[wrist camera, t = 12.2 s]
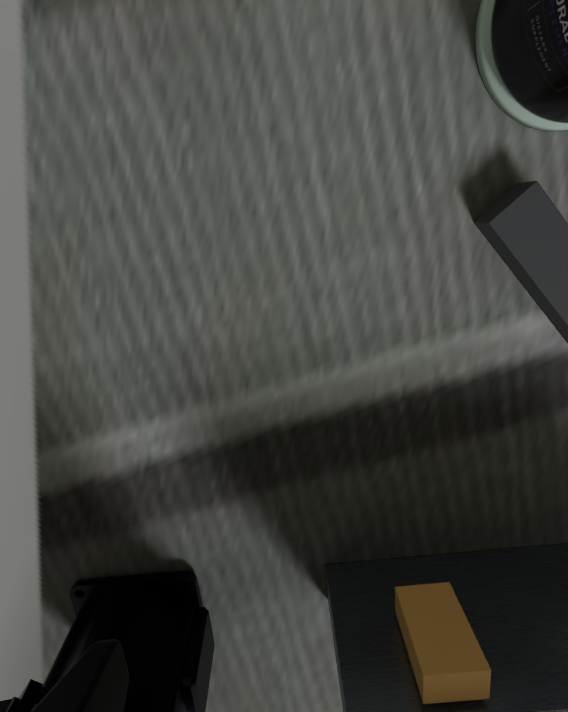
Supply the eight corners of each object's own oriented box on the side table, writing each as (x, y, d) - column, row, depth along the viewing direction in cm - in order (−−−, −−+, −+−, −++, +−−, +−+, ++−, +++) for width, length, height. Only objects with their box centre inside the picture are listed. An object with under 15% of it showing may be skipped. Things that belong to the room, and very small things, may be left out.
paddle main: (395, 611, 20) (423, 703, 16) (394, 586, 20) (423, 676, 16) (448, 607, 20) (489, 698, 16) (449, 582, 20) (491, 669, 16)
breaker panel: (327, 600, 24) (362, 848, 15) (325, 561, 24) (358, 796, 14) (624, 575, 24) (851, 809, 15) (631, 534, 23) (875, 754, 14)
